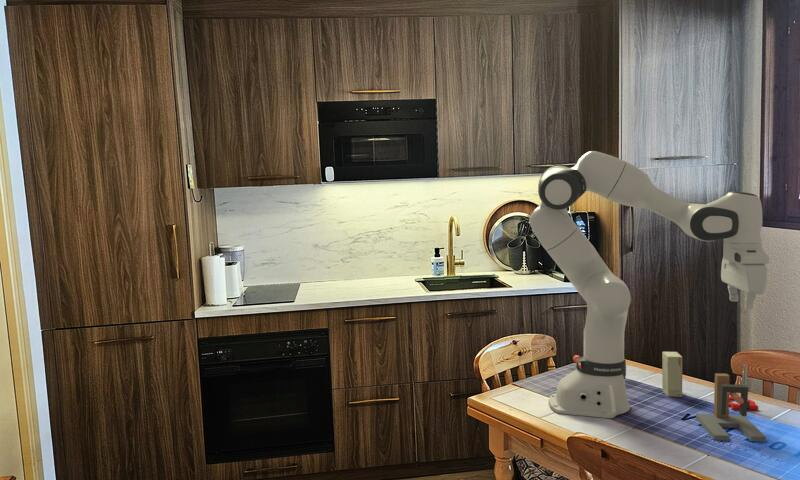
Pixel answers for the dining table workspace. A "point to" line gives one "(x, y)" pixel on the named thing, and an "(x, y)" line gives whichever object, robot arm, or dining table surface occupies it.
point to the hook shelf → (727, 416)
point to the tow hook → (750, 403)
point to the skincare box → (672, 374)
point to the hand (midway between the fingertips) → (740, 304)
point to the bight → (733, 389)
